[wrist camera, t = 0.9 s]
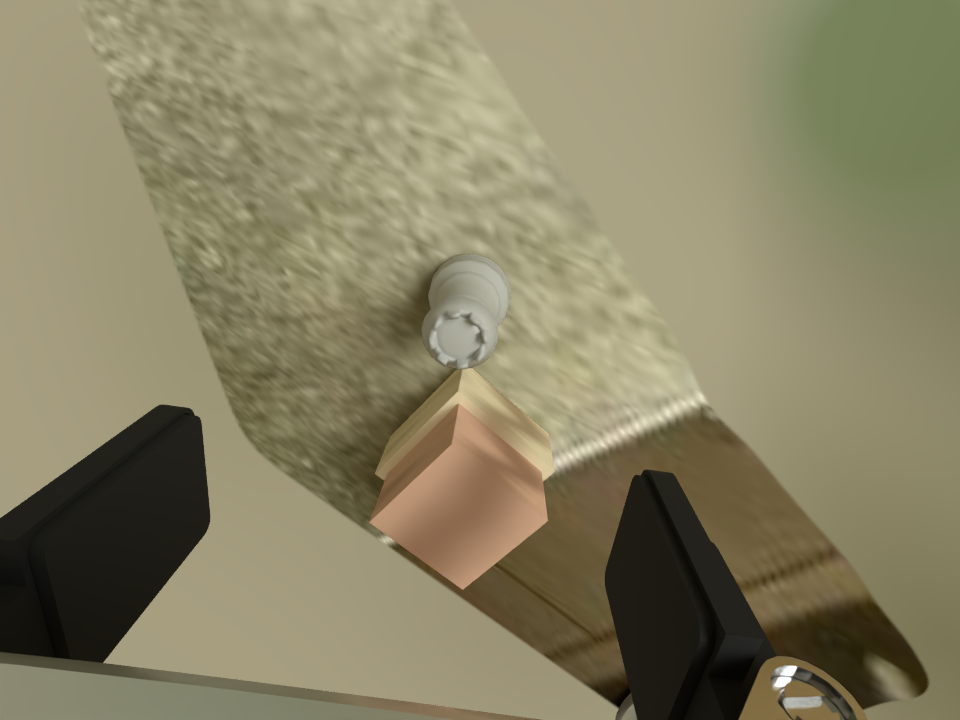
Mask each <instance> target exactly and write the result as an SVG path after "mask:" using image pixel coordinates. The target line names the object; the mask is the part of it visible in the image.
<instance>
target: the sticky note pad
mask: <svg viewBox="0 0 960 720" xmlns="http://www.w3.org/2000/svg"><path fill="white" fill-rule="evenodd" d="M554 472H555V470H554V464H553V458H552V452H551V446H550V440H549V434H548V433H547V432H546V431H545V430H543V429H542V428H541V427H540V426H539V425H538V424H536V423H535V422H534V421H533V420H532V419H531V418H529V417H528V416H527V415H526V414H525V413H524V412H522V411H521V410H520V409H519V408H518V407H517V406H515V405H514V404H513V403H512V402H511V401H510V400H508V399H507V398H506V397H505V396H504V395H503V394H501V393H500V392H499V391H498V390H497V389H496V388H494V387H493V386H492V385H491V384H490V383H489V382H487V381H486V380H485V379H484V378H483V377H482V376H480V375H479V374H478V373H477V372H476V371H474V370H473V369H472V368H468V369H461V370H455V371H454V372H453V373H452V374H451V375H450V376H449V377H448V378H447V379H446V380H445V381H444V382H443V383H442V384H441V385H440V386H439V387H438V388H437V389H436V390H435V391H434V393H433V394H432V395H431V396H430V397H429V398H428V399H427V400H426V401H425V402H424V403H423V404H422V405H421V406H420V407H419V408H418V409H417V410H416V411H415V412H414V413H413V414H412V415H411V416H410V417H409V418H408V419H407V420H406V421H405V422H404V423H403V424H402V425H401V426H400V427H399V428H398V429H397V430H396V431H395V432H394V433H393V434H392V435H391V436H390V438H389V440H388V443H387V445H386V447H385V450H384V452H383V455H382V457H381V460H380V462H379V464H378V467H377V469H376V472H375V474H376V475H377V476H378V477H380V478H381V479H382V480H384V484H383V487H382V489H381V492H380V495H379V497H378V500H377V503H376V505H375V508H374V511H373V514H372V516H371V519H370V522H369V523H371V524H372V525H373V526H375V527H376V528H378V529H379V530H380V531H382V532H383V533H385V534H386V535H387V536H389V537H390V538H392V539H393V540H394V541H396V542H397V543H398V544H400V545H401V546H403V547H404V548H405V549H407V550H408V551H410V552H411V553H412V554H414V555H415V556H417V557H418V558H419V559H421V560H422V561H423V562H425V563H426V564H428V565H429V566H430V567H432V568H433V569H435V570H436V571H437V572H439V573H440V574H442V575H443V576H444V577H446V578H447V579H448V580H450V581H451V582H453V583H454V584H455V585H457V586H458V587H460V588H461V589H462V590H463V589H464V588H465V587H467V586H468V585H469V584H470V583H472V582H473V581H474V580H475V579H477V578H478V577H479V576H480V575H482V574H483V573H484V572H485V571H487V570H488V569H489V568H490V567H492V566H493V565H494V564H495V563H497V562H498V561H499V560H500V559H501V558H503V557H504V556H505V555H506V554H508V553H509V552H510V551H511V550H513V549H514V548H515V547H516V546H518V545H519V544H520V543H521V542H523V541H524V540H525V539H526V538H528V537H529V536H530V535H531V534H533V533H534V532H535V531H536V530H538V529H539V528H540V527H541V526H542V525H544V524H545V523H546V522H547V521H548V519H547V511H546V503H545V495H544V487H543V481H544V480H545V479H547V478H548V477H549V476H550V475H551V474H552V473H554Z"/></svg>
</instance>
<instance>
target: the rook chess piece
mask: <svg viewBox="0 0 960 720" xmlns="http://www.w3.org/2000/svg"><path fill="white" fill-rule="evenodd" d="M428 298H429V305H430V310H429V312H428V313H427V314H426V316H425V318H424V322H423V326H422V330H421V331H422V337H423V343H424V346H425V347H426V349H427V350H428V352H429V354H430V355H431V357H433V358H434V359H435V360H436V361H437V362H439V363H440V364H441V365H443V366H444V367H445V366H447V367H451V368H455V369H456V370H461V369H468V368H473V367H475V366H477V365H479V364H481V363H483V362H485V361H486V360H487V359H488V357H489V356H490V355H491V354H492V353H493V352H494V350H495V347H496V343H497V340H498V329H497V326H498V325H499V324H500V323H501V321H502V320H503V319H504V318H505V315H506V312H507V309H508V306H509V302H510V299H511V298H510V288H509V282H508V280H507V278H506V276H505V275H504V273H503V271H502V269H501V268H500V267H498V266H497V265H496V264H495V263H493V262H492V261H491V260H490V259H488V258H485V257H482V256H478V255H475V254H468V255H459V256H455V257H453V258H452V259H450V260H448V261H446V262H445V263H443V264H442V265H441V266H440V267H439V269H438V270H437V271H436V273H435V274H434V275H433V277H432V282H431V286H430V290H429V294H428Z"/></svg>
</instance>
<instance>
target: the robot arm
mask: <svg viewBox="0 0 960 720" xmlns="http://www.w3.org/2000/svg"><path fill="white" fill-rule="evenodd" d="M204 456H205V455H204V445H203V434H202V424H201V420H200V418H199V417H198V416H195V415H194V413H193V411H192V410H191V409H190V408H185V407H177V406H170V405H159V406H157V407H155V408H154V409H152V410H151V411H150V412H148V413H147V414H145V415H144V416H143V417H141V418H140V419H139V420H137V421H136V422H134V423H133V424H132V425H130V426H129V427H127V428H126V429H124V430H123V431H122V432H120V433H119V434H117V435H116V436H115V437H113V438H112V439H110V440H109V441H108V442H106V443H105V444H103V445H102V446H101V447H99V448H98V449H96V450H95V451H94V452H92V453H91V454H90V455H88V456H87V457H85V458H84V459H83V460H81V461H80V462H78V463H77V464H76V465H74V466H73V467H71V468H70V469H69V470H67V471H66V472H65V473H63V474H62V475H60V476H59V477H57V478H56V479H55V480H53V481H52V482H50V483H49V484H48V485H46V486H45V487H43V488H42V489H41V490H39V491H38V492H36V493H35V494H34V495H32V496H31V497H29V498H28V499H27V500H25V501H24V502H22V503H21V504H20V505H18V506H17V507H15V508H14V509H13V510H11V511H10V512H8V513H7V514H6V515H4V516H3V517H1V518H0V720H538V719H531V718H523V717H516V716H509V715H502V714H494V713H487V712H480V711H471V710H465V709H458V708H450V707H442V706H435V705H428V704H421V703H413V702H406V701H398V700H390V699H383V698H375V697H367V696H359V695H352V694H344V693H336V692H329V691H321V690H313V689H305V688H298V687H290V686H282V685H274V684H266V683H258V682H251V681H243V680H236V679H227V678H219V677H210V676H202V675H195V674H187V673H178V672H170V671H163V670H154V669H145V668H138V667H130V666H121V665H113V664H106V663H103V662H104V661H105V659H106V658H107V657H108V656H109V654H110V653H111V652H112V651H113V649H114V648H115V647H116V646H117V644H118V643H119V641H121V639H122V638H123V637H124V635H125V634H126V633H127V632H128V631H129V629H130V628H131V627H132V625H133V624H134V623H135V622H136V620H137V619H138V618H139V617H140V615H141V614H142V613H143V612H144V610H145V609H146V608H147V606H148V605H149V604H150V602H152V600H153V599H154V598H155V596H156V595H157V594H158V593H159V591H160V590H161V589H162V588H163V586H164V585H165V584H166V583H167V581H168V580H169V579H170V577H171V576H172V575H173V574H174V572H175V571H176V570H177V569H178V567H179V566H180V565H181V564H182V562H183V561H184V560H185V559H186V557H187V556H188V555H189V553H190V552H191V551H192V550H193V549H194V547H195V546H196V545H197V544H198V542H199V541H200V540H201V539H202V537H203V536H204V535H205V533H206V531H207V529H208V527H209V523H210V508H209V498H208V487H207V476H206V466H205V457H204ZM605 587H606V592H607V596H608V600H609V604H610V608H611V613H612V617H613V621H614V625H615V629H616V633H617V638H618V642H619V646H620V650H621V654H622V658H623V663H624V667H625V671H626V675H627V679H628V683H629V688H630V692H631V693H630V694H629V695H628V696H627V698H626V699H625V700H624V701H623V702H622V704H621V706H620V708H619V710H618V712H617V716H616V720H867V718H866V715H865V713H864V711H863V710H862V709H861V707H860V706H859V705H858V703H857V702H856V700H855V699H854V698H853V696H852V695H851V694H850V693H849V692H848V691H847V690H846V689H845V688H844V687H843V686H841V685H840V684H839V683H838V682H837V681H836V680H834V679H833V678H832V677H830V676H829V675H828V674H826V673H825V672H824V671H822V670H820V669H818V668H816V667H815V666H813V665H811V664H809V663H807V662H804V661H801V660H798V659H795V658H792V657H779V656H777V655H776V653H775V652H774V650H773V648H772V646H771V644H770V642H769V641H768V639H767V637H766V635H765V633H764V632H763V630H762V628H761V626H760V624H759V623H758V621H757V619H756V617H755V615H754V613H753V612H752V610H751V608H750V606H749V604H748V603H747V601H746V599H745V597H744V595H743V594H742V592H741V590H740V588H739V586H738V584H737V583H736V581H735V579H734V577H733V575H732V574H731V572H730V570H729V568H728V566H727V565H726V563H725V561H724V559H723V557H722V556H721V554H720V552H719V550H718V549H717V547H716V546H715V544H714V543H712V542H711V541H710V539H709V538H708V536H707V534H706V532H705V530H704V528H703V527H702V525H701V523H700V521H699V519H698V517H697V515H696V514H695V512H694V510H693V508H692V506H691V504H690V503H689V501H688V499H687V497H686V495H685V493H684V492H683V490H682V488H681V486H680V484H679V482H678V481H677V479H676V477H675V475H674V474H673V473H669V472H661V471H654V470H644V471H643V473H642V474H641V476H640V475H635V476H634V477H633V479H632V482H631V485H630V489H629V492H628V496H627V499H626V502H625V506H624V509H623V513H622V516H621V519H620V523H619V526H618V530H617V533H616V536H615V540H614V543H613V547H612V550H611V553H610V557H609V560H608V564H607V567H606V571H605Z"/></svg>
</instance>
